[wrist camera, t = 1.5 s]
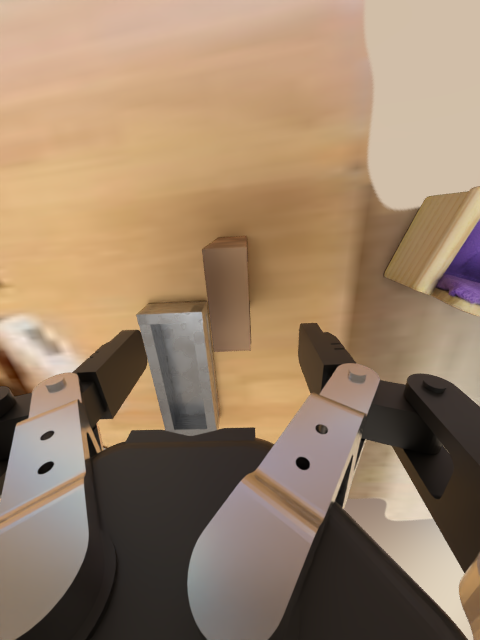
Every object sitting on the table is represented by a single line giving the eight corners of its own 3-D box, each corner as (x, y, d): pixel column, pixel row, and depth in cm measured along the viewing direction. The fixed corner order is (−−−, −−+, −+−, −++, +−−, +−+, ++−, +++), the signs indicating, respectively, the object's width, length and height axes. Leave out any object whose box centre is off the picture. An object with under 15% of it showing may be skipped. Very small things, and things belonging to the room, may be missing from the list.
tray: (206, 301, 28) (201, 311, 25) (220, 415, 35) (217, 435, 32) (148, 303, 28) (136, 314, 25) (173, 416, 35) (166, 436, 32)
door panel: (246, 236, 25) (247, 246, 16) (249, 306, 28) (251, 350, 19) (217, 237, 25) (201, 249, 16) (223, 308, 28) (213, 351, 19)
